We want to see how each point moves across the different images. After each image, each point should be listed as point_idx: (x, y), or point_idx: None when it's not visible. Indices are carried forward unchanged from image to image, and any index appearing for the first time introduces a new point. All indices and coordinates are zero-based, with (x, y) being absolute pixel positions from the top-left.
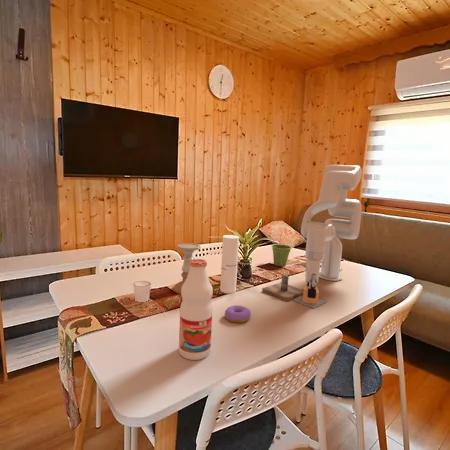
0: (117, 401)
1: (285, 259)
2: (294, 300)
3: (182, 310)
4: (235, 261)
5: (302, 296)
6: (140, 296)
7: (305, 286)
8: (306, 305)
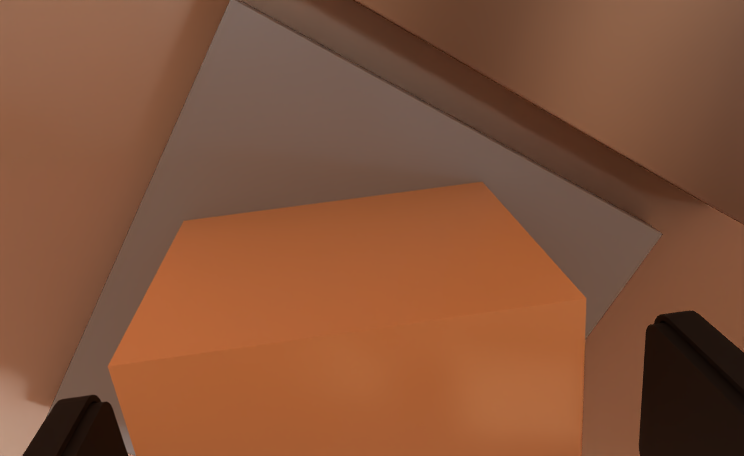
0: None
1: None
2: (221, 28)
3: None
4: None
5: (497, 176)
6: None
7: (554, 352)
8: (105, 289)
